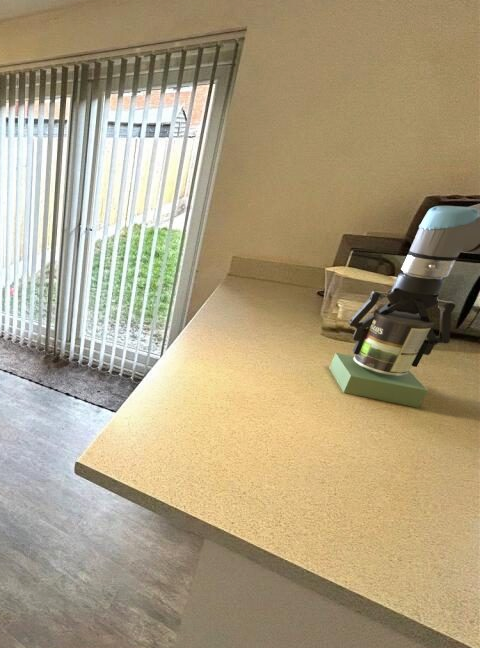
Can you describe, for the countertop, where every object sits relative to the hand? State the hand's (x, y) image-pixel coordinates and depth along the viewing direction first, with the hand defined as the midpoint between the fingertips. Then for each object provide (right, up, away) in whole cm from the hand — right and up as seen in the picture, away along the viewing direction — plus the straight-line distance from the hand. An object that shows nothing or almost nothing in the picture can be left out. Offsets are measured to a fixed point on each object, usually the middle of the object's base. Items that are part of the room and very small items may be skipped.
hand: (383, 358), depth 100 cm
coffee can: (0, -2, +1) cm, 2 cm away
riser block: (0, -8, +3) cm, 9 cm away
